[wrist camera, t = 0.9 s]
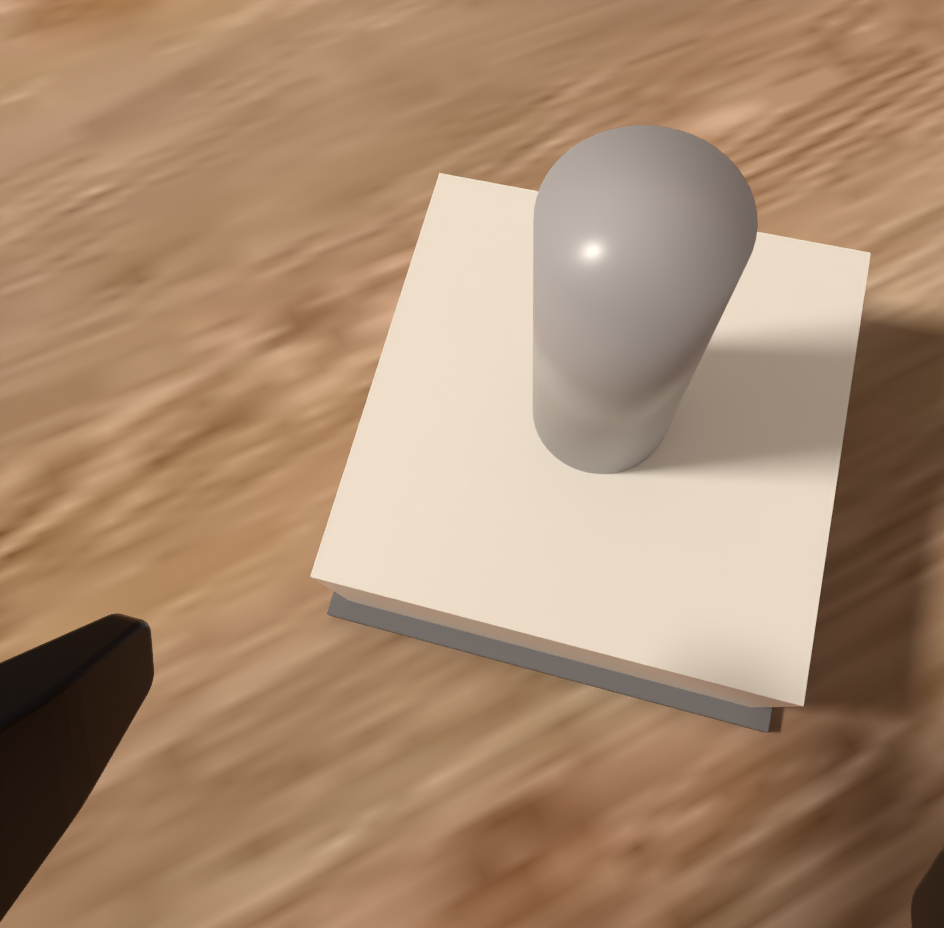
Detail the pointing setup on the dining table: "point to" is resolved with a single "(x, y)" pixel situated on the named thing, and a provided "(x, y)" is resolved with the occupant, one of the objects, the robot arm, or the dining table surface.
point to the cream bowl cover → (609, 422)
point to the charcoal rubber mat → (552, 665)
